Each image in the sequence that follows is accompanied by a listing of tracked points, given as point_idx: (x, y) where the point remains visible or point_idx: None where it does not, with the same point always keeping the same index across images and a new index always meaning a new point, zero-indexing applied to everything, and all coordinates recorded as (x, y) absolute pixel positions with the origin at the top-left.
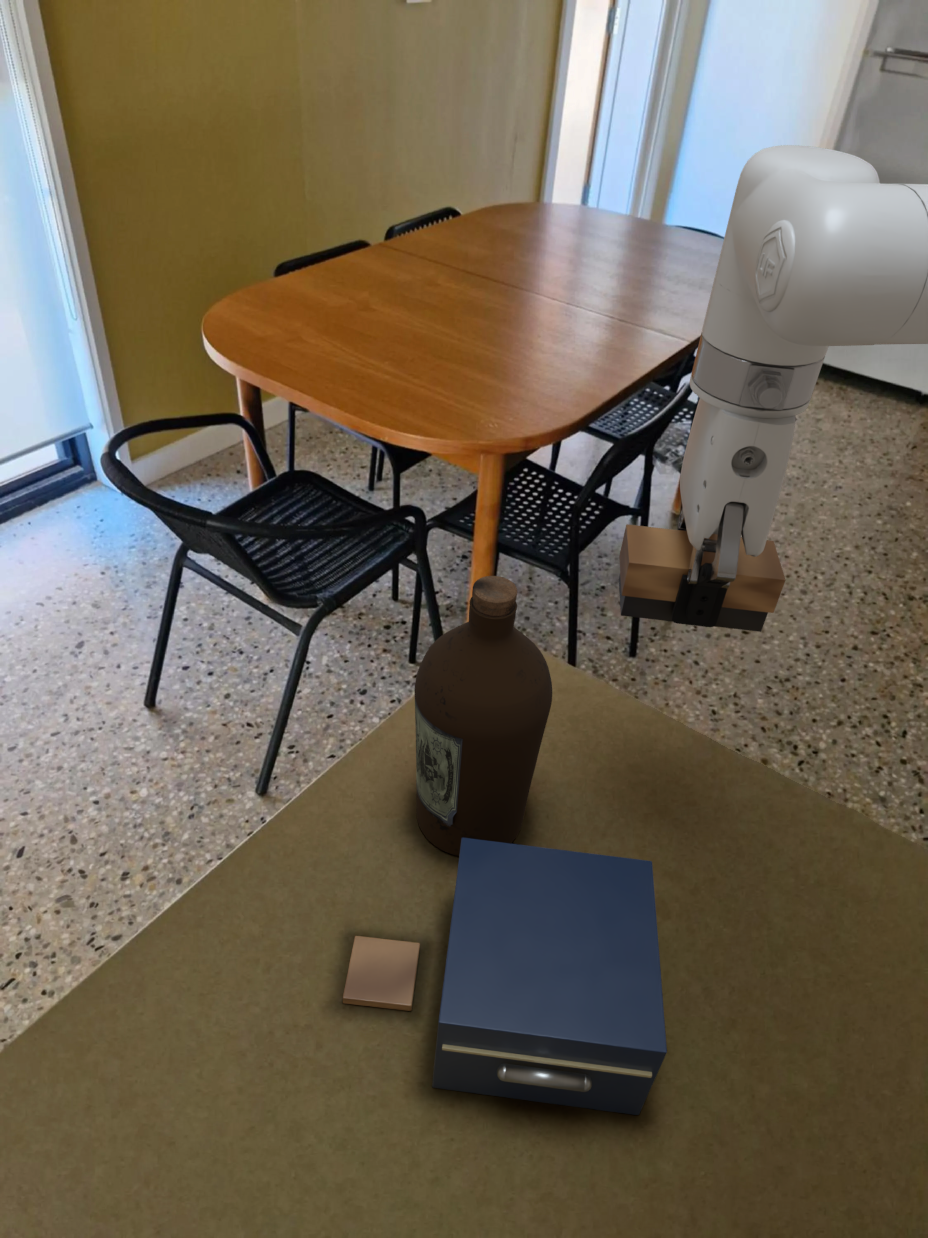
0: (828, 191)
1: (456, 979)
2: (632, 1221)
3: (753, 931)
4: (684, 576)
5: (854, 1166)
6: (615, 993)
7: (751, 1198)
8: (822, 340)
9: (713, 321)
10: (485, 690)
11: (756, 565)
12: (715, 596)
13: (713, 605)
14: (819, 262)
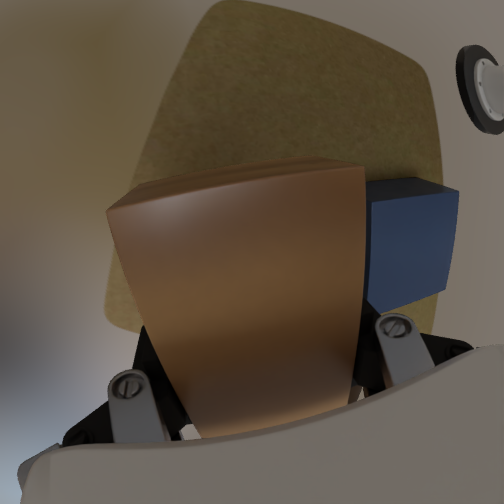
0: None
1: (432, 290)
2: (441, 179)
3: (315, 106)
4: (354, 384)
5: (415, 84)
6: (441, 217)
7: (432, 131)
8: None
9: None
10: (360, 390)
11: (307, 264)
12: (378, 314)
13: (366, 300)
14: None
